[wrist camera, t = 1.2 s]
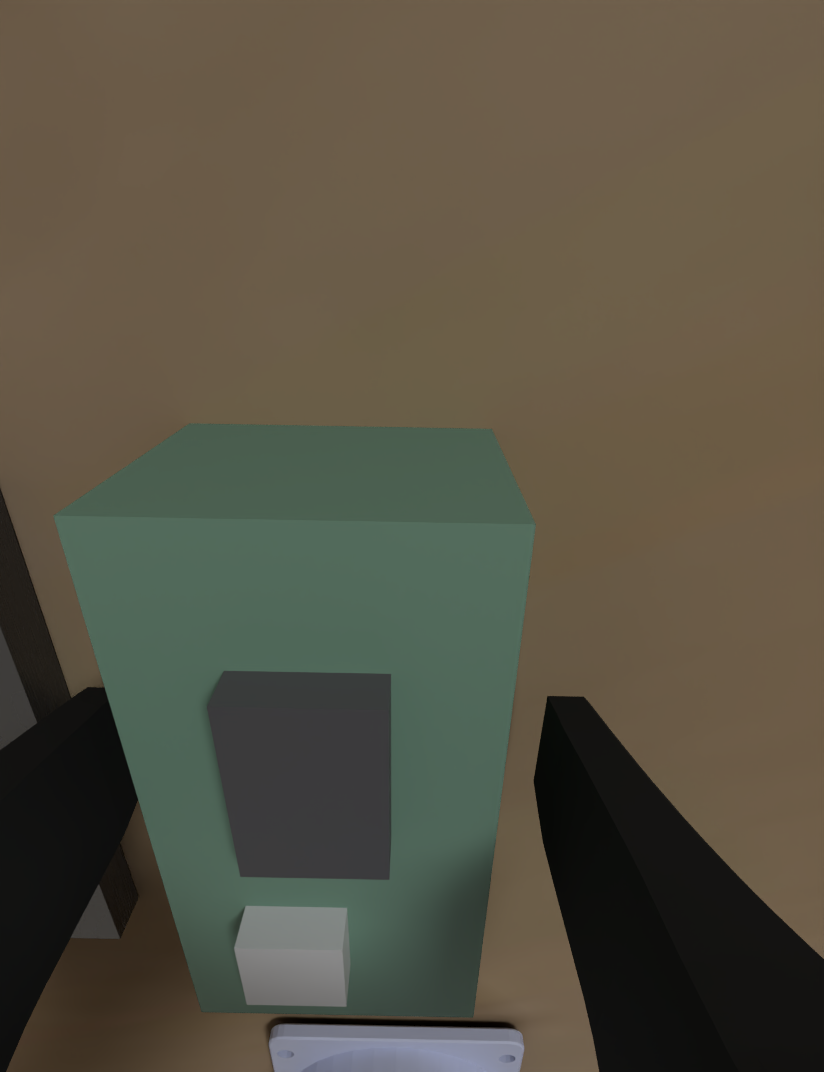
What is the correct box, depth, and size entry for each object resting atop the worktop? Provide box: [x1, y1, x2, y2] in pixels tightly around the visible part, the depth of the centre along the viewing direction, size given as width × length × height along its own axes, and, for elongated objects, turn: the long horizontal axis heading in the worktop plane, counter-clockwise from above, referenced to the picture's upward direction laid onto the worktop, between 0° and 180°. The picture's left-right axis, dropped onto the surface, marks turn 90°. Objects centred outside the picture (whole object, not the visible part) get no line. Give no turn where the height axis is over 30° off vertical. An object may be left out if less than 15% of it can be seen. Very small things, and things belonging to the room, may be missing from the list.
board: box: [54, 424, 536, 1017], centre depth 9 cm, size 10×5×5 cm, turn 179°
